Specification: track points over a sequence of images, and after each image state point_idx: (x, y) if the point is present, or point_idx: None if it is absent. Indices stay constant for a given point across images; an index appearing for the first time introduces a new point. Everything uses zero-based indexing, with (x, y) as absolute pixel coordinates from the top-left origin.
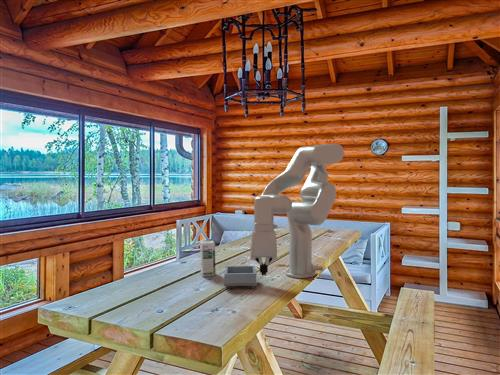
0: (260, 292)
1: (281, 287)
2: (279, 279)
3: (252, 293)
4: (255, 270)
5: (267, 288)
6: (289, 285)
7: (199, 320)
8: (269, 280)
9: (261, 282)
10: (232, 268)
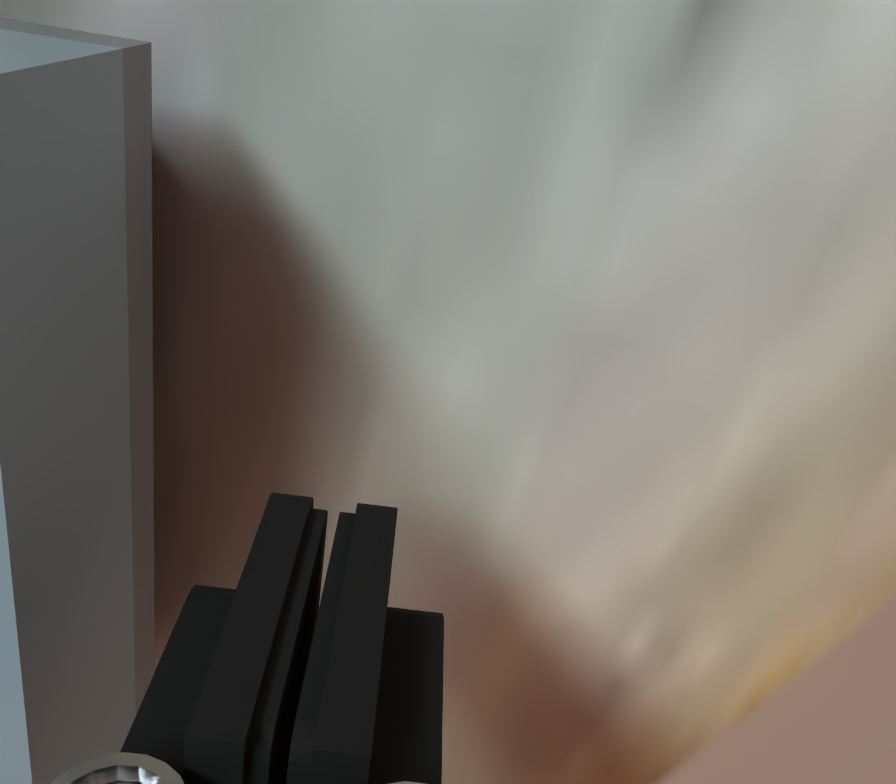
0: None
1: (671, 614)
2: (891, 60)
3: None
4: (18, 744)
5: None
6: (877, 543)
7: None
8: (589, 97)
9: (344, 228)
10: None
